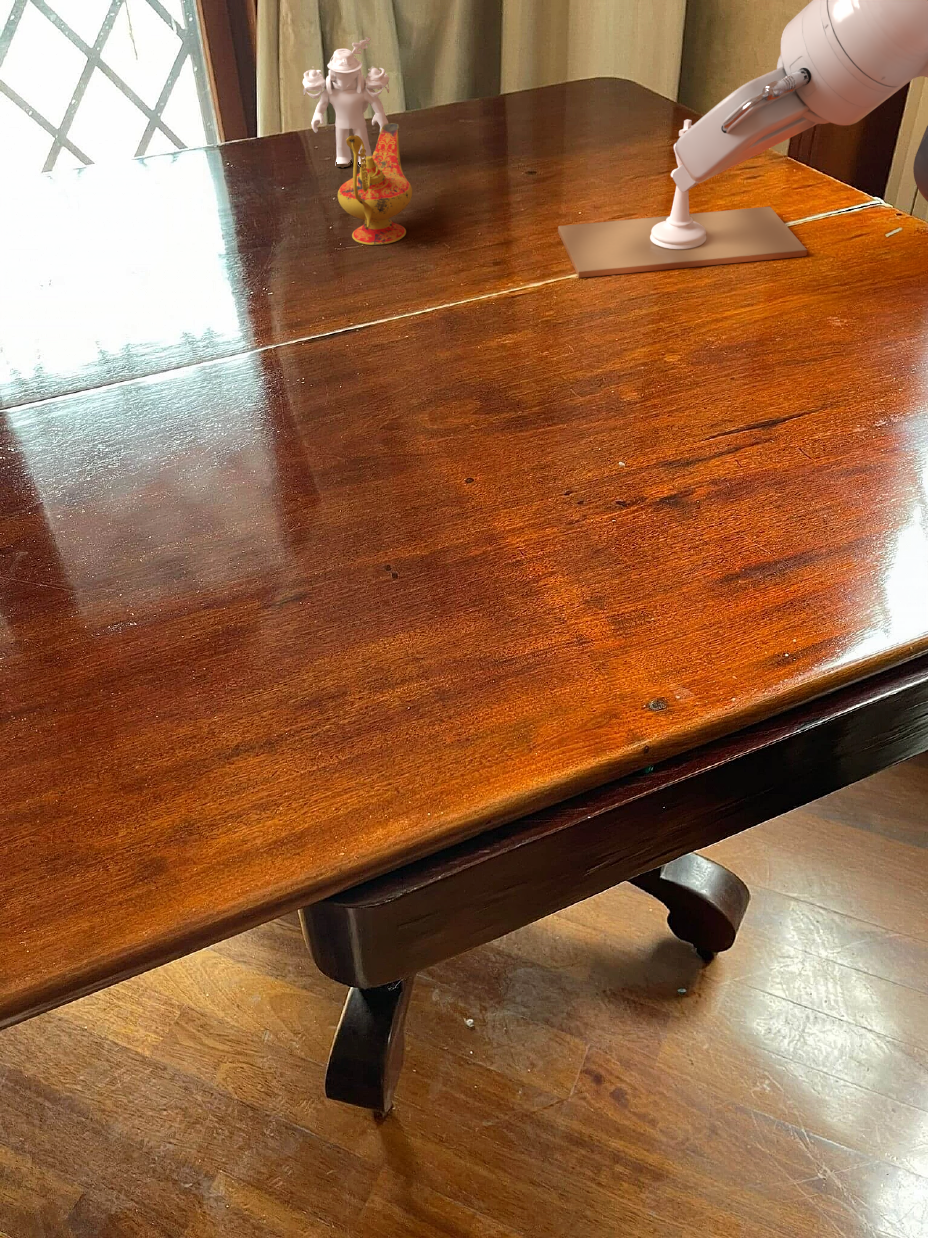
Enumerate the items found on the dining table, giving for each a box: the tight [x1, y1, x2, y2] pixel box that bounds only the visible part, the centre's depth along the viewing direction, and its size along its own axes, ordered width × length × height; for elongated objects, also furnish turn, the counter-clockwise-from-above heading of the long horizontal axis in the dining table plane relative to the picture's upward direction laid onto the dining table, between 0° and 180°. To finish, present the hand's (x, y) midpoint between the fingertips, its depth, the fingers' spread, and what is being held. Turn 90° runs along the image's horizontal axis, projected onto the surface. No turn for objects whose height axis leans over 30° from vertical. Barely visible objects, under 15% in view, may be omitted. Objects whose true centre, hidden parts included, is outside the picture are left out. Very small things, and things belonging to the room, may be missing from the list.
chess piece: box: [650, 118, 706, 249], centre depth 94 cm, size 5×5×10 cm
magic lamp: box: [337, 122, 413, 246], centre depth 100 cm, size 7×18×11 cm, turn 173°
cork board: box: [557, 206, 808, 279], centre depth 98 cm, size 20×10×1 cm, turn 96°
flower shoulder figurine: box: [302, 36, 390, 164], centre depth 113 cm, size 9×4×12 cm, turn 87°
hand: (715, 165), depth 92 cm, fingers open, 8 cm apart
